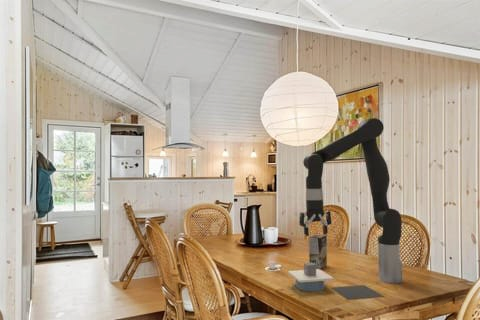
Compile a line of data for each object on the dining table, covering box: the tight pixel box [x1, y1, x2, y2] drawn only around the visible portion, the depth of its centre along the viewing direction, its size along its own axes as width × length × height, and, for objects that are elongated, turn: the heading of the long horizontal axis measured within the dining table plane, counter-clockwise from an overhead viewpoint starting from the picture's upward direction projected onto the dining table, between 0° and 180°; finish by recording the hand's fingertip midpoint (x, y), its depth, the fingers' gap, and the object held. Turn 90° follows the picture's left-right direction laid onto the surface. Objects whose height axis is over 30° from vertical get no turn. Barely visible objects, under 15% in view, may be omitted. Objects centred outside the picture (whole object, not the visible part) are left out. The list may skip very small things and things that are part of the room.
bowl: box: [295, 279, 326, 292], centre depth 163 cm, size 12×12×5 cm
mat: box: [330, 284, 386, 301], centre depth 155 cm, size 16×16×1 cm
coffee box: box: [308, 234, 328, 270], centre depth 199 cm, size 9×6×16 cm
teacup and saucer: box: [264, 260, 282, 272], centre depth 195 cm, size 9×8×4 cm
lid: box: [287, 262, 335, 282], centre depth 163 cm, size 15×15×5 cm
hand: (315, 235), depth 167 cm, fingers open, 8 cm apart
